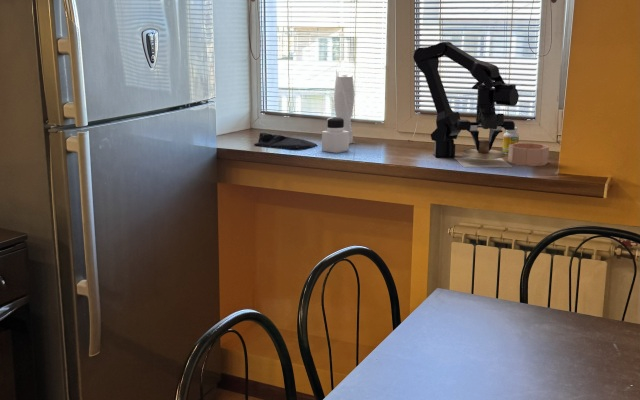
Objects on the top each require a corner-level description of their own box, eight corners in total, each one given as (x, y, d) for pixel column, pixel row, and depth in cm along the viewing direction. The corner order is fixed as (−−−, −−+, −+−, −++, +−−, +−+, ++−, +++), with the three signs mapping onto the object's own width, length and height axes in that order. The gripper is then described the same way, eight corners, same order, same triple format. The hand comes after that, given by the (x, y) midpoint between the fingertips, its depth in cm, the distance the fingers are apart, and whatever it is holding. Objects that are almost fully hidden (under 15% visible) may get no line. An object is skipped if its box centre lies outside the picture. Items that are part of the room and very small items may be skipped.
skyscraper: (329, 142, 294) (329, 69, 287) (341, 140, 300) (342, 68, 293) (345, 145, 289) (345, 70, 282) (357, 142, 294) (358, 69, 288)
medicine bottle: (349, 150, 278) (349, 117, 275) (336, 153, 273) (336, 119, 270) (334, 148, 283) (334, 116, 280) (321, 150, 277) (321, 117, 275)
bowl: (514, 167, 248) (516, 149, 247) (505, 160, 260) (506, 143, 259) (551, 167, 249) (552, 149, 247) (539, 160, 260) (541, 142, 259)
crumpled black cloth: (295, 153, 276) (295, 140, 275) (250, 146, 289) (250, 133, 288) (321, 147, 287) (321, 134, 286) (277, 141, 301) (276, 129, 299)
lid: (467, 159, 247) (467, 144, 246) (457, 151, 261) (458, 137, 260) (509, 158, 248) (510, 144, 246) (498, 151, 261) (499, 137, 260)
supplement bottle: (509, 152, 275) (511, 125, 273) (520, 154, 271) (522, 127, 269) (499, 153, 273) (500, 126, 270) (510, 155, 268) (512, 128, 266)
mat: (463, 168, 247) (463, 166, 247) (453, 158, 262) (453, 157, 262) (512, 168, 247) (512, 166, 247) (499, 158, 263) (499, 157, 263)
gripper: (462, 106, 242) (460, 155, 246) (521, 106, 243) (518, 154, 246) (455, 102, 253) (453, 149, 256) (511, 102, 253) (508, 148, 257)
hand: (483, 150), depth 254 cm, fingers closed on lid, 4 cm apart
